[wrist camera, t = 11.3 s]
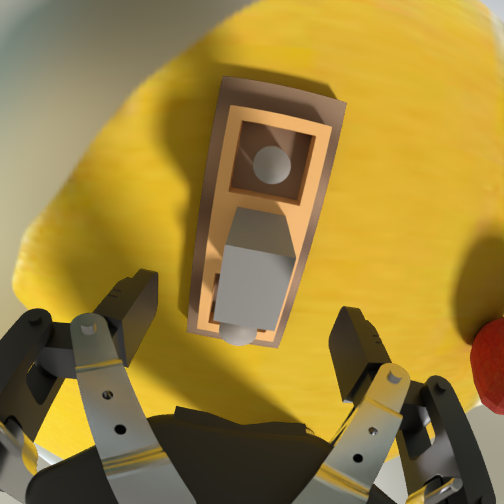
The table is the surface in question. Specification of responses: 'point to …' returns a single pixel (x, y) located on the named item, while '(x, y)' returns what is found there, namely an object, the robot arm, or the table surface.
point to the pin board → (253, 182)
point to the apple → (489, 365)
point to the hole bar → (256, 233)
